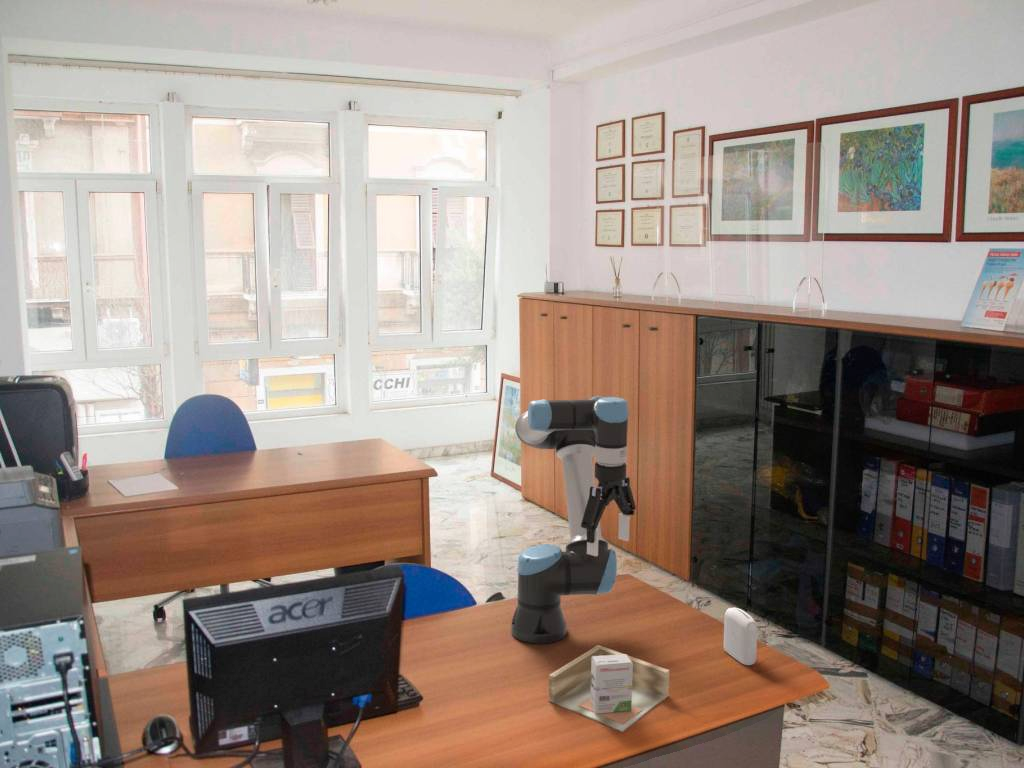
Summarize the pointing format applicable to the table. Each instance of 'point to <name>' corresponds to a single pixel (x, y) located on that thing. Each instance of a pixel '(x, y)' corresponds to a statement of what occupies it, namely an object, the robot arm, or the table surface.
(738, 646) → the photo printer
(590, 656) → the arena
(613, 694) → the ink box
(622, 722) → the pad
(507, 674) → the table surface
